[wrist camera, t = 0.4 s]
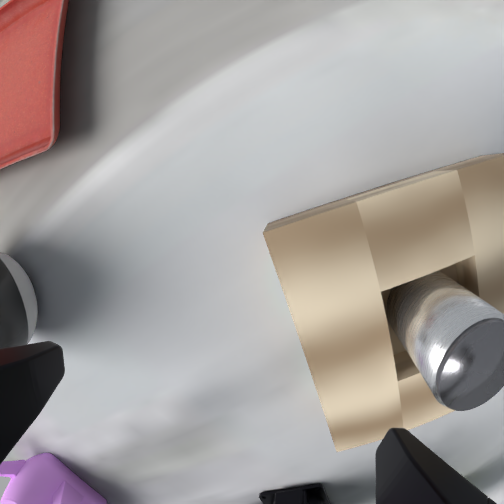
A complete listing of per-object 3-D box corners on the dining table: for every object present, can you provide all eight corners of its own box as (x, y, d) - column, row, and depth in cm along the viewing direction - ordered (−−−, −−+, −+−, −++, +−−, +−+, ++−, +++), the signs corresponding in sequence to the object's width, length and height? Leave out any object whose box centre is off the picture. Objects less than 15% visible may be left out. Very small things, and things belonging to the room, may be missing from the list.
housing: (503, 348, 19) (527, 370, 16) (332, 417, 22) (336, 452, 18) (481, 155, 17) (514, 152, 13) (268, 223, 20) (262, 232, 16)
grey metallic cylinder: (454, 322, 19) (518, 386, 10) (392, 348, 19) (436, 428, 11) (446, 256, 18) (524, 300, 10) (379, 282, 19) (431, 345, 10)
